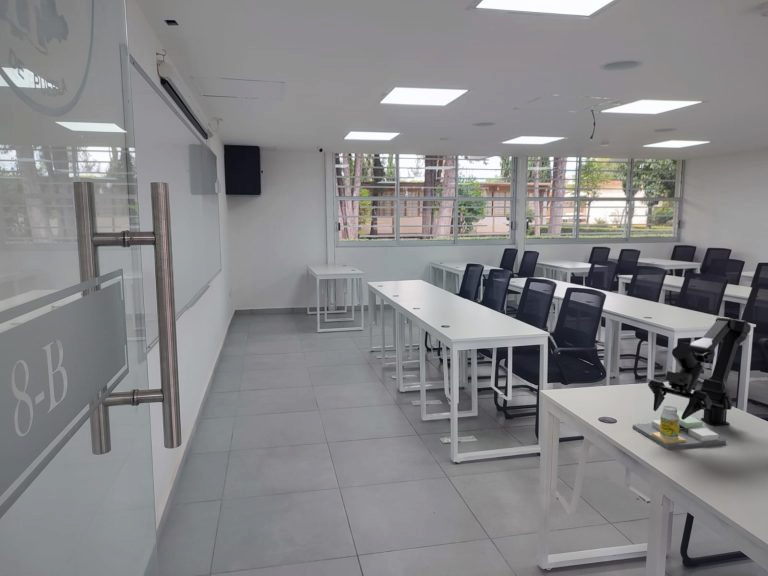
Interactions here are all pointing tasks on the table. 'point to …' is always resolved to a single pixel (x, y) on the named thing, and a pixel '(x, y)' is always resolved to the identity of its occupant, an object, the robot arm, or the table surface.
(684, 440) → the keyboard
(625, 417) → the table surface
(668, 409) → the supplement bottle
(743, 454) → the table surface
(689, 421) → the green key
